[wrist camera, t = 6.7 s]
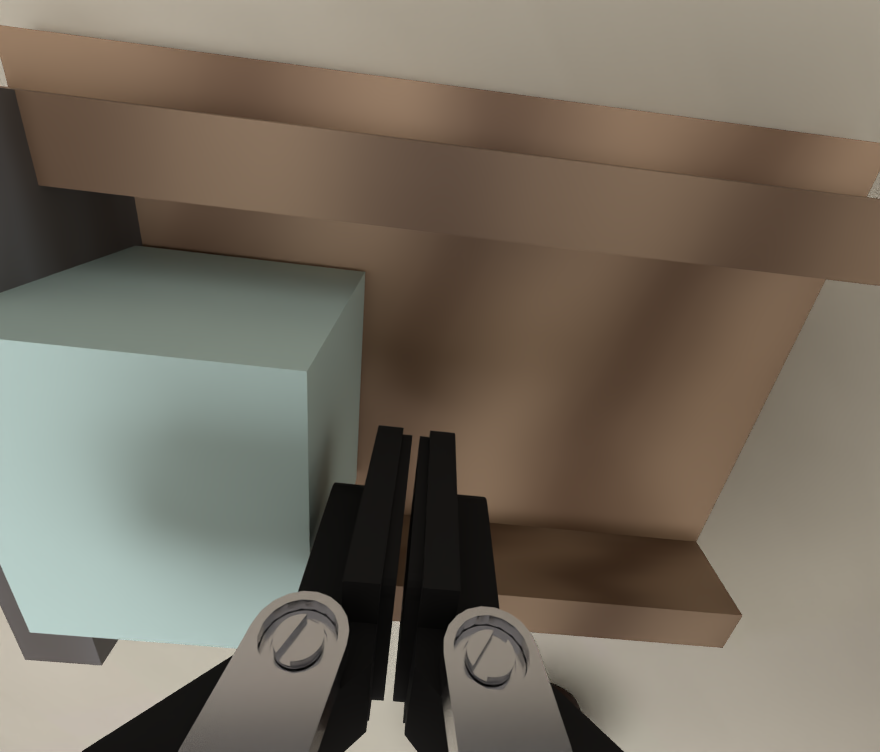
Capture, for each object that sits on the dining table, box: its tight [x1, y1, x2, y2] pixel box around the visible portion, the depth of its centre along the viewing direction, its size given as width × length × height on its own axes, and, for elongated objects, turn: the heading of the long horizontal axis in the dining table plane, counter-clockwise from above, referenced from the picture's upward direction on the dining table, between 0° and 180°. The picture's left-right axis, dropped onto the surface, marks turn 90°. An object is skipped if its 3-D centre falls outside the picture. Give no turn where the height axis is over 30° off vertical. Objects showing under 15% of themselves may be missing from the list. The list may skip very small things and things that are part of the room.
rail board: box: [0, 25, 880, 665], centre depth 13 cm, size 21×16×6 cm
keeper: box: [0, 246, 365, 649], centre depth 11 cm, size 6×7×6 cm
